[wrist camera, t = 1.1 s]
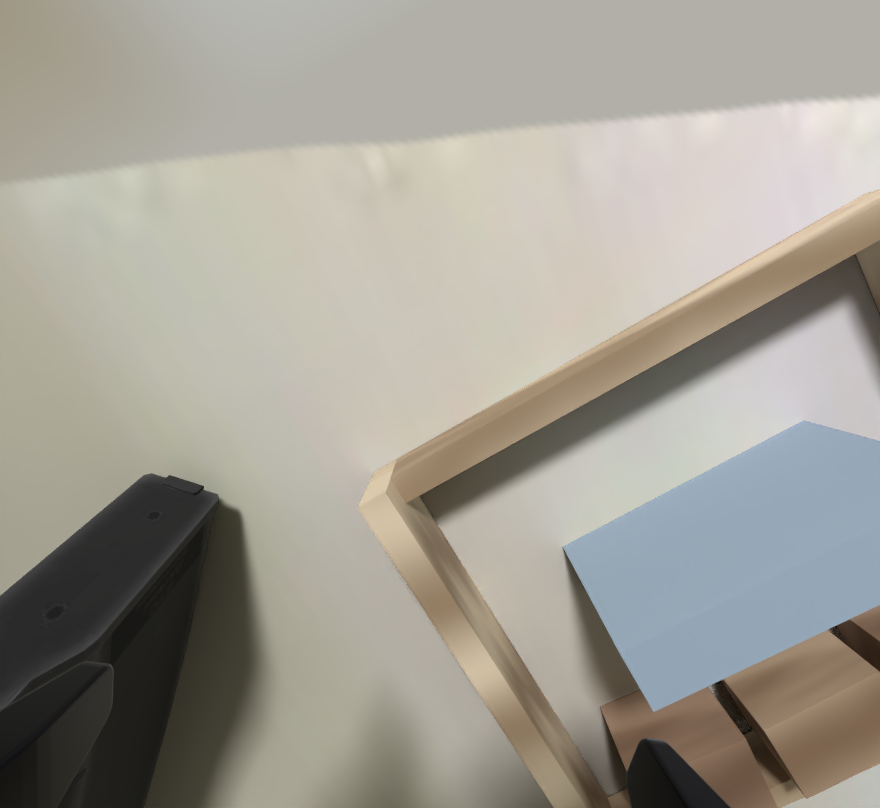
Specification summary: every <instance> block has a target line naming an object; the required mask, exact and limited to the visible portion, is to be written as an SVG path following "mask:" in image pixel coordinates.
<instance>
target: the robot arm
mask: <svg viewBox="0 0 880 808" xmlns="http://www.w3.org/2000/svg"><path fill="white" fill-rule="evenodd" d="M113 676H114V671H113V667H112V665H111V664H108V663H101V662H94V661H85V662H82V663H80V664H78V665H76V666H74V667H73V668H71V669H69V670H68V671H66V672H64V673H62V674H61V675H59V676H57V677H56V678H54V679H52V680H51V681H49V682H47V683H45V684H44V685H42V686H40V687H39V688H37V689H35V690H34V691H32V692H30V693H28V694H27V695H25V696H23V697H22V698H20V699H18V700H17V701H15V702H13V703H11V704H10V705H8V706H6V707H5V708H3V709H1V710H0V808H57V806H58V805H59V803H60V801H61V799H62V798H63V796H64V794H65V792H66V791H67V789H68V787H69V785H70V784H71V782H72V780H73V778H74V777H75V775H76V773H77V771H78V770H79V768H80V766H81V764H82V763H83V761H84V759H85V757H86V756H87V754H88V752H89V750H90V749H91V747H92V745H93V743H94V742H95V740H96V738H97V736H98V735H99V733H100V731H101V729H102V728H103V726H104V724H105V722H106V720H107V718H108V716H109V714H110V711H111V708H112V702H113ZM626 785H627V791H628V795H629V799H630V803H631V808H731V807H730V806H729V805H728V804H727V803H726V802H725V801H724V800H723V799H722V798H721V797H720V796H719V795H718V794H717V793H716V792H715V791H714V790H713V789H712V788H711V787H710V786H709V785H708V784H707V783H706V782H705V781H704V780H703V779H702V778H701V777H700V776H699V775H698V774H697V773H696V771H695V770H694V769H693V768H692V767H691V766H690V765H689V764H688V763H687V762H686V761H685V760H684V759H683V758H682V757H681V756H680V755H679V754H678V753H677V752H676V751H675V750H674V749H673V748H672V747H671V746H670V745H669V744H668V743H666V742H665V741H662V740H657V739H650V738H642V739H641V740H640V741H639V742H638V744H637V747H636V749H635V752H634V754H633V757H632V759H631V762H630V764H629V767H628V769H627V774H626Z"/></svg>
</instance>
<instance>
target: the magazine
mask: <svg viewBox="0 0 880 808" xmlns="http://www.w3.org/2000/svg"><path fill="white" fill-rule="evenodd" d="M203 489H204V486H202V485H199V484H195V483H192V482H189V481H186V480H183V479H180V478H177V477H173V476H170V475H169V476H168V477H167V478H164V477H161V476H158V475H155V474H152V473H151V474H147V475H144V476H142V477H141V478H140V479H139V480H138V481H137V482H135V483H134V484H133V485H132V486H131V487H129V488H128V489H127V490H126V491H125V492H123V493H122V494H121V495H120V496H119V497H117V498H116V499H115V500H114V501H113V502H111V503H110V504H109V505H108V506H107V507H106V508H104V509H103V510H102V511H101V512H100V513H98V514H97V515H96V516H95V517H94V518H92V519H91V520H90V521H89V522H88V523H86V524H85V525H84V526H83V527H82V528H81V529H79V530H78V531H77V532H76V533H75V534H73V535H72V536H71V537H70V538H69V539H67V540H66V541H65V542H64V543H63V544H61V545H60V546H59V547H58V548H57V549H55V550H54V551H53V552H52V553H51V554H50V555H48V556H47V557H46V558H45V559H44V560H42V561H41V562H40V563H39V564H38V565H36V566H35V567H34V568H33V569H32V570H30V571H29V572H28V573H27V574H26V575H24V576H23V577H22V578H21V579H20V580H19V581H17V582H16V583H15V584H14V585H13V586H11V587H10V588H9V589H8V590H7V591H5V592H4V593H3V594H2V595H1V596H0V710H1V709H3V708H5V707H6V706H8V705H10V704H11V703H13V702H15V701H17V700H18V699H20V698H22V697H23V696H25V695H27V694H28V693H30V692H32V691H34V690H35V689H37V688H39V687H40V686H42V685H44V684H45V683H47V682H49V681H51V680H52V679H54V678H56V677H57V676H59V675H61V674H62V673H64V672H66V671H68V670H69V669H71V668H73V667H74V666H76V665H78V664H80V663H82V662H85V661H94V662H101V663H108V664H111V665H112V667H113V671H114V676H113V702H112V708H111V711H110V714H109V716H108V718H107V720H106V722H105V724H104V726H103V728H102V729H101V731H100V733H99V735H98V736H97V738H96V740H95V742H94V743H93V745H92V747H91V749H90V750H89V752H88V754H87V756H86V757H85V759H84V761H83V763H82V764H81V766H80V768H79V770H78V771H77V773H76V775H75V777H74V778H73V780H72V782H71V784H70V785H69V787H68V789H67V791H66V792H65V794H64V796H63V798H62V799H61V801H60V803H59V805H58V806H57V808H143V805H144V802H145V799H146V796H147V792H148V789H149V785H150V782H151V779H152V775H153V772H154V769H155V765H156V762H157V758H158V754H159V751H160V747H161V743H162V740H163V736H164V732H165V729H166V725H167V721H168V717H169V713H170V710H171V706H172V702H173V698H174V694H175V690H176V686H177V682H178V677H179V673H180V669H181V665H182V661H183V656H184V652H185V647H186V643H187V638H188V634H189V629H190V624H191V620H192V615H193V610H194V605H195V600H196V595H197V590H198V585H199V580H200V575H201V570H202V565H203V560H204V555H205V550H206V546H207V541H208V536H209V531H210V526H211V521H212V516H213V513H214V511H215V510H216V509H217V508H218V502H219V497H218V494H215V493H212V492H208V491H205V490H203Z"/></svg>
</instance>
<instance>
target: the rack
mask: <svg viewBox="0 0 880 808" xmlns="http://www.w3.org/2000/svg"><path fill="white" fill-rule="evenodd" d="M854 254H856V256H857V259H858V261H859V264H860V266H861V269H862V271H863V273H864V276H865V278H866V281H867V283H868V286H869V288H870V291H871V293H872V296H873V298H874V301H875V303H876V305H877V308H878V310H879V313H880V189H879V190H876V191H873V192H869V193H866V194H864V195H862V196H861V197H859V198H857V199H855V200H853V201H852V202H850V203H848V204H846V205H845V206H843V207H841V208H839V209H838V210H836V211H834V212H832V213H831V214H829V215H827V216H825V217H824V218H822V219H820V220H818V221H816V222H815V223H813V224H811V225H809V226H808V227H806V228H804V229H802V230H801V231H799V232H797V233H795V234H794V235H792V236H790V237H788V238H786V239H785V240H783V241H781V242H779V243H778V244H776V245H774V246H772V247H771V248H769V249H767V250H765V251H764V252H762V253H760V254H758V255H757V256H755V257H753V258H751V259H749V260H748V261H746V262H744V263H742V264H741V265H739V266H737V267H735V268H734V269H732V270H730V271H728V272H727V273H725V274H723V275H721V276H719V277H718V278H716V279H714V280H712V281H711V282H709V283H707V284H705V285H704V286H702V287H700V288H698V289H697V290H695V291H693V292H691V293H690V294H688V295H686V296H684V297H682V298H681V299H679V300H677V301H675V302H674V303H672V304H670V305H668V306H667V307H665V308H663V309H661V310H660V311H658V312H656V313H654V314H652V315H651V316H649V317H647V318H645V319H644V320H642V321H640V322H638V323H637V324H635V325H633V326H631V327H630V328H628V329H626V330H624V331H622V332H621V333H619V334H617V335H615V336H614V337H612V338H610V339H608V340H607V341H605V342H603V343H601V344H600V345H598V346H596V347H594V348H593V349H591V350H589V351H587V352H585V353H584V354H582V355H580V356H578V357H577V358H575V359H573V360H571V361H570V362H568V363H566V364H564V365H563V366H561V367H559V368H557V369H555V370H554V371H552V372H550V373H548V374H547V375H545V376H543V377H541V378H540V379H538V380H536V381H534V382H533V383H531V384H529V385H527V386H526V387H524V388H522V389H520V390H518V391H517V392H515V393H513V394H511V395H510V396H508V397H506V398H504V399H503V400H501V401H499V402H497V403H496V404H494V405H492V406H490V407H488V408H487V409H485V410H483V411H481V412H480V413H478V414H476V415H474V416H473V417H471V418H469V419H467V420H466V421H464V422H462V423H460V424H458V425H457V426H455V427H453V428H451V429H450V430H448V431H446V432H444V433H443V434H441V435H439V436H437V437H436V438H434V439H432V440H430V441H429V442H427V443H425V444H423V445H421V446H420V447H418V448H416V449H414V450H413V451H411V452H409V453H407V454H406V455H404V456H402V457H400V458H399V459H397V460H395V461H393V462H391V463H390V464H388V465H386V466H384V467H383V468H381V469H379V470H377V471H376V472H374V474H373V476H372V478H371V480H370V482H369V484H368V487H367V489H366V491H365V493H364V495H363V498H362V500H361V502H360V504H359V506H358V509H359V511H360V513H361V514H362V516H363V517H364V519H365V520H366V522H367V523H368V525H369V526H370V528H371V529H372V531H373V532H374V534H375V535H376V537H377V539H378V540H379V542H380V543H381V545H382V546H383V548H384V549H385V551H386V552H387V554H388V555H389V557H390V558H391V560H392V561H393V563H394V565H395V566H396V568H397V569H398V571H399V572H400V574H401V575H402V577H403V578H404V580H405V581H406V583H407V584H408V586H409V587H410V589H411V591H412V592H413V594H414V595H415V597H416V598H417V600H418V601H419V603H420V604H421V606H422V607H423V609H424V610H425V612H426V613H427V615H428V617H429V618H430V620H431V621H432V623H433V624H434V626H435V627H436V629H437V630H438V632H439V633H440V635H441V636H442V638H443V639H444V641H445V643H446V644H447V646H448V647H449V649H450V650H451V652H452V653H453V655H454V656H455V658H456V659H457V661H458V662H459V664H460V665H461V667H462V669H463V670H464V672H465V673H466V675H467V676H468V678H469V679H470V681H471V682H472V684H473V685H474V687H475V688H476V690H477V691H478V693H479V695H480V696H481V698H482V699H483V701H484V702H485V704H486V705H487V707H488V708H489V710H490V711H491V713H492V714H493V716H494V718H495V719H496V721H497V722H498V724H499V725H500V727H501V728H502V730H503V731H504V733H505V734H506V736H507V737H508V739H509V740H510V742H511V744H512V745H513V747H514V748H515V750H516V751H517V753H518V754H519V756H520V757H521V759H522V760H523V762H524V763H525V765H526V766H527V768H528V770H529V771H530V773H531V774H532V776H533V777H534V779H535V780H536V782H537V783H538V785H539V786H540V788H541V789H542V791H543V792H544V794H545V796H546V797H547V799H548V800H549V802H550V803H551V805H552V806H553V808H631V803H630V799H629V795H628V791H627V788H626V789H624V790H622V791H620V792H618V793H615V794H613V795H611V796H609V797H607V795H606V794H605V792H604V791H603V789H602V787H601V786H600V784H599V783H598V781H597V779H596V778H595V776H594V775H593V773H592V771H591V770H590V768H589V767H588V765H587V763H586V762H585V760H584V759H583V757H582V755H581V754H580V752H579V751H578V749H577V747H576V746H575V744H574V743H573V741H572V739H571V738H570V736H569V735H568V733H567V731H566V730H565V728H564V727H563V725H562V723H561V722H560V720H559V719H558V717H557V715H556V714H555V712H554V711H553V709H552V707H551V706H550V704H549V703H548V701H547V699H546V698H545V696H544V695H543V693H542V691H541V690H540V688H539V687H538V685H537V683H536V682H535V680H534V679H533V677H532V675H531V674H530V672H529V671H528V669H527V667H526V666H525V664H524V663H523V661H522V659H521V658H520V656H519V655H518V653H517V651H516V650H515V648H514V647H513V645H512V643H511V642H510V640H509V639H508V637H507V635H506V634H505V632H504V631H503V629H502V627H501V626H500V624H499V623H498V621H497V619H496V618H495V616H494V615H493V613H492V611H491V610H490V608H489V607H488V605H487V603H486V602H485V600H484V599H483V597H482V595H481V594H480V592H479V591H478V589H477V587H476V586H475V584H474V583H473V581H472V579H471V578H470V576H469V575H468V573H467V571H466V570H465V568H464V567H463V565H462V563H461V562H460V560H459V559H458V557H457V555H456V554H455V552H454V551H453V549H452V547H451V546H450V544H449V543H448V541H447V539H446V538H445V536H444V535H443V533H442V531H441V530H440V528H439V527H438V525H437V523H436V522H435V520H434V519H433V517H432V515H431V514H430V512H429V511H428V509H427V507H426V506H425V504H424V503H423V501H422V499H421V498H420V495H422V494H423V493H425V492H427V491H429V490H431V489H432V488H434V487H436V486H438V485H440V484H441V483H443V482H445V481H447V480H449V479H450V478H452V477H454V476H456V475H458V474H459V473H461V472H463V471H465V470H467V469H468V468H470V467H472V466H474V465H476V464H477V463H479V462H481V461H483V460H485V459H486V458H488V457H490V456H492V455H494V454H496V453H497V452H499V451H501V450H503V449H505V448H506V447H508V446H510V445H512V444H514V443H515V442H517V441H519V440H521V439H523V438H524V437H526V436H528V435H530V434H532V433H533V432H535V431H537V430H539V429H541V428H542V427H544V426H546V425H548V424H550V423H551V422H553V421H555V420H557V419H559V418H560V417H562V416H564V415H566V414H568V413H569V412H571V411H573V410H575V409H577V408H578V407H580V406H582V405H584V404H586V403H587V402H589V401H591V400H593V399H595V398H596V397H598V396H600V395H602V394H604V393H605V392H607V391H609V390H611V389H613V388H614V387H616V386H618V385H620V384H622V383H623V382H625V381H627V380H629V379H631V378H632V377H634V376H636V375H638V374H640V373H641V372H643V371H645V370H647V369H649V368H650V367H652V366H654V365H656V364H658V363H659V362H661V361H663V360H665V359H667V358H668V357H670V356H672V355H674V354H676V353H677V352H679V351H681V350H683V349H685V348H686V347H688V346H690V345H692V344H694V343H695V342H697V341H699V340H701V339H703V338H704V337H706V336H708V335H710V334H712V333H713V332H715V331H717V330H719V329H721V328H723V327H724V326H726V325H728V324H730V323H732V322H733V321H735V320H737V319H739V318H741V317H742V316H744V315H746V314H748V313H750V312H751V311H753V310H755V309H757V308H759V307H760V306H762V305H764V304H766V303H768V302H769V301H771V300H773V299H775V298H777V297H778V296H780V295H782V294H784V293H786V292H787V291H789V290H791V289H793V288H795V287H796V286H798V285H800V284H802V283H804V282H805V281H807V280H809V279H811V278H813V277H814V276H816V275H818V274H820V273H822V272H823V271H825V270H827V269H829V268H831V267H832V266H834V265H836V264H838V263H840V262H841V261H843V260H845V259H847V258H849V257H850V256H852V255H854ZM743 736H744V737H745V738H746V740H747V742H748V745H749V747H750V749H751V751H752V753H753V755H754V757H755V760H756V762H757V764H758V766H759V768H760V770H761V773H762V775H763V777H764V779H765V781H766V783H767V785H768V788H769V790H770V792H771V794H772V796H773V798H774V801H775V803H776V805H777V807H778V808H781V807H783V806H785V805H788V804H790V803H792V802H794V801H797V800H799V799H801V798H804V797H805V796H804V795H803V794H802V792H801V791H800V790H799V788H798V787H797V786H796V784H795V783H794V782H793V781H792V779H791V778H790V777H789V775H788V774H787V773H786V771H785V770H784V769H783V767H782V766H781V765H780V763H779V762H778V761H777V760H776V758H775V757H774V756H773V754H772V753H771V752H770V750H769V749H768V748H767V746H766V745H765V744H764V743H763V741H762V740H761V739H760V737H759V736H758V735H757V733H756V732H755V731H754V730H752V731H750V732H748V733H746V734H744V735H743ZM879 764H880V763H878V764H876V765H879ZM876 765H874V766H876ZM874 766H872V767H874ZM872 767H870V768H872ZM868 769H869V768H868ZM866 770H867V769H866ZM864 771H865V770H864ZM862 772H863V771H862Z"/></svg>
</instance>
